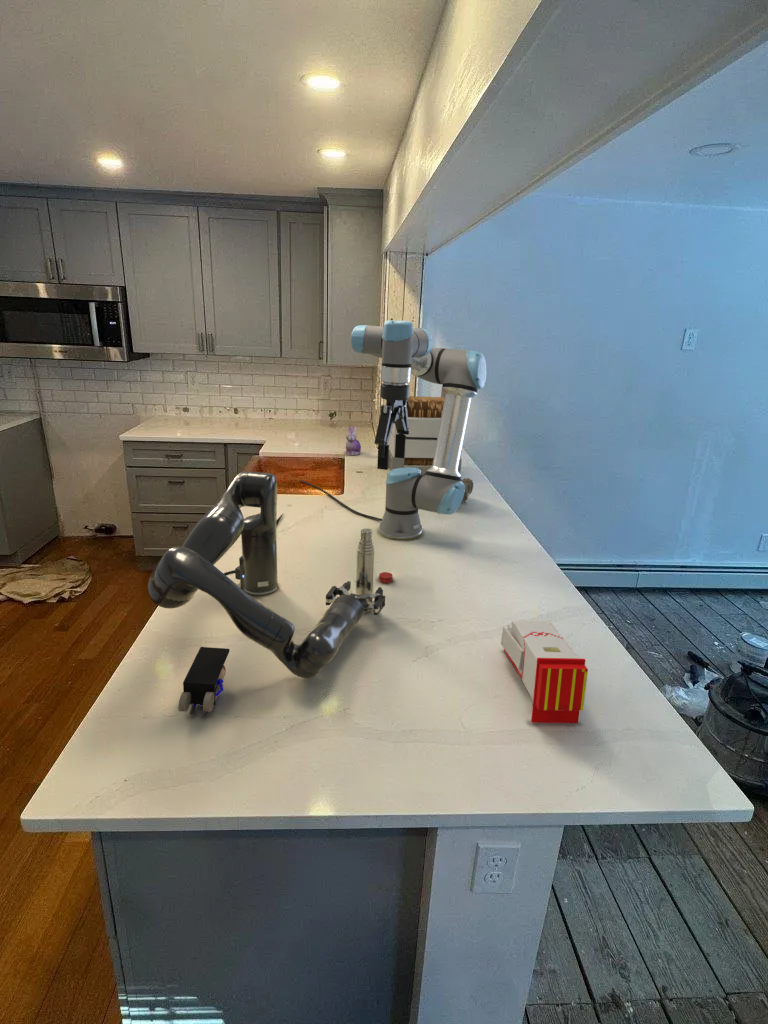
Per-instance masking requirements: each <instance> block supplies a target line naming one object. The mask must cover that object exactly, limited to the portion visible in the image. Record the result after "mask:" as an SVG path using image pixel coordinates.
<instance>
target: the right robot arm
mask: <svg viewBox="0 0 768 1024" xmlns="http://www.w3.org/2000/svg"><path fill="white" fill-rule="evenodd" d="M350 346H351V348H352V350H353V351H354V352H355V353H357V354H362V355H365V354H366V355H371V356H374V357H377V358H379V359H381V368H380V370H379V372H380V375H381V376H380V382H382V383H381V384H380V395H379V396H380V398H381V399H383V400H385V401H386V402H385V404H381V405H380V414H379V418H378V423H377V429H376V433H375V438H374V444H375V445H377V463H376V466H377V468H376V469H377V470H382V471H383V470H384V471H388V473H387V475H386V480H385V504H384V505H385V507H384V508H385V509H384V513H383V515H382V518H380V517H376V516H373V515H369V514H365V513H362V512H359V511H357V510H355V509H353V508H351V507H350V506H348V505H346V504H345V503H343V502H342V501H340V500H339V499H337V498H336V497H335V496H334V495H332V494H331V493H329V492H327V491H326V490H325V489H322V488H320V487H318V486H317V485H314V484H312V483H310V482H306V481H304V480H299V483H301V484H304V485H307V486H310V487H311V488H312V487H313V488H314V489H316V490H318V491H319V492H322V493H324V494H325V495H328V497H330V498H331V499H332V500H334V501H336V502H337V503H338V504H339V505H341V506H343V507H344V508H346V509H347V510H349V511H350V512H352V513H353V514H356V515H358V516H361V517H364V518H369V519H372V520H375V521H379V526H378V533H379V534H380V535H381V536H382V537H385V538H387V539H389V540H395V541H410V540H415V539H418V538H420V537H421V536H422V535H423V525H422V524H421V518H420V515H419V510H421V511H426V512H430V513H431V512H432V513H436V514H438V515H446V516H447V515H448V516H450V515H453V514H455V513H456V512H457V511H458V509H459V508H460V507H461V506H460V504H461V502H462V499H463V496H464V492H465V490H464V489H465V485H464V483H463V482H461V481H460V480H462V475H461V474H459V472H458V466H459V460H460V455H461V456H462V453H461V450H462V451H463V445H464V438H465V434H466V429H467V423H468V419H469V418H468V417H469V411H470V406H471V401H472V399H473V398H474V397H475V396H477V394H478V390H481V389H483V388H484V387H485V384H486V380H487V363H486V362H487V361H486V358H485V356H484V354H483V353H482V352H480V351H477V350H470V349H457V348H442V347H433V346H434V338H433V336H432V334H431V332H430V331H429V330H427V329H425V328H421V327H414V324H413V322H412V321H410V320H397V319H396V320H395V319H394V320H392V319H391V320H390V319H387V320H386V321H384V323H383V326H379V325H368V324H364V325H363V324H362V325H356V326H355V327H354V328H352V331H351V334H350ZM412 376H414V377H417V378H419V379H421V380H424V381H425V382H429V383H432V384H436V385H442V386H441V391H442V390H443V391H444V393H445V400H444V405H443V410H442V416H441V421H440V427H439V432H438V438H437V443H436V448H435V454H434V459H433V465H431V466H430V467H429V468H428V469H427V470H426V473H425V474H422V470H421V468H419V467H415V466H411V467H409V466H406V467H405V466H404V468H397V469H393V470H391V471H390V470H389V467H388V459H389V445H387V444H388V441H389V438H390V434H391V431H392V427H393V424H394V423H395V426H396V430H397V433H398V434H396V441H395V457H396V458H405V442H406V435H409V431H408V430H409V424H408V415H407V399H409V396H410V390H411V386H410V383H411V377H412ZM405 434H406V435H405ZM459 506H460V507H459Z"/></svg>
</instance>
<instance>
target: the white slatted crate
mask: <svg viewBox="0 0 768 1024" xmlns="http://www.w3.org/2000/svg"><path fill="white" fill-rule="evenodd" d="M440 393H441V394H440V396H415V395H414V396H413V395H412V396H411V395H409V399H407V415H408V424H409V430H408V431H409V435H406V434H405V435H406V442H405V458H396V457H395V441H396V434H398V433H397V430H396V426H395V423H394V424H393V427H392V431H391V434H390V438H389V441H388V444H387V445H389V459H388V468H389V472H390V471H391V470H393V469H397V468H405V466H406V467H409V466H411V467H417V466H418V467H431V466H432V465H433V459H434V454H435V448H436V443H437V438H438V432H439V427H440V421H441V416H442V410H443V405H444V400H445V393H444V391H443V390H442V389H441V392H440ZM462 453H463V449H462V450H461V455H460V460H459V466H458V472H459V474H460V475H461V472H462V461H463V460H462Z"/></svg>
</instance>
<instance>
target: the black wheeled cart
mask: <svg viewBox="0 0 768 1024" xmlns="http://www.w3.org/2000/svg"><path fill="white" fill-rule="evenodd" d="M229 653H230V648H226V647H210V646H208V647H207V646H200V647H199V650H198V651H197V654H196V656H195V657H194V660H193V662H192V664H191V665H190V667H189V670H188V671H187V673H186V676H185V677H184V680H183V682H182V687H183V689H182V690H183V691H182V693H181V694H180V696H179V700H178V711H179V712H182V713H183V712H185V713H187V712H188V711H189V709H190V711H189V715H190V717H193V716H194V715H195V712H196V709H197V706H201V707H202V711H203V712H204V716H205V717H207V716H209V714H210V713H211V712H212V710H213V709H214V707H215V706H216V705H217V701H216V700H217V699H218V697H219V696H220V695H221V694H222V692H224V678H225V676H226V666H225V663H226V660H227V658H228V656H229ZM217 685H218V687H219V689H218V690H217V689H216V687H217ZM216 690H217V691H216ZM190 706H191V708H190Z"/></svg>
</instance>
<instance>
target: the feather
mask: <svg viewBox="0 0 768 1024" xmlns="http://www.w3.org/2000/svg"><path fill="white" fill-rule="evenodd" d="M283 515H284V513H282V514H281V515H280V516H279V517H278V518H277V520H276V527H277V526H278V525H279V522H280V520H281V519H282V517H283Z"/></svg>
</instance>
